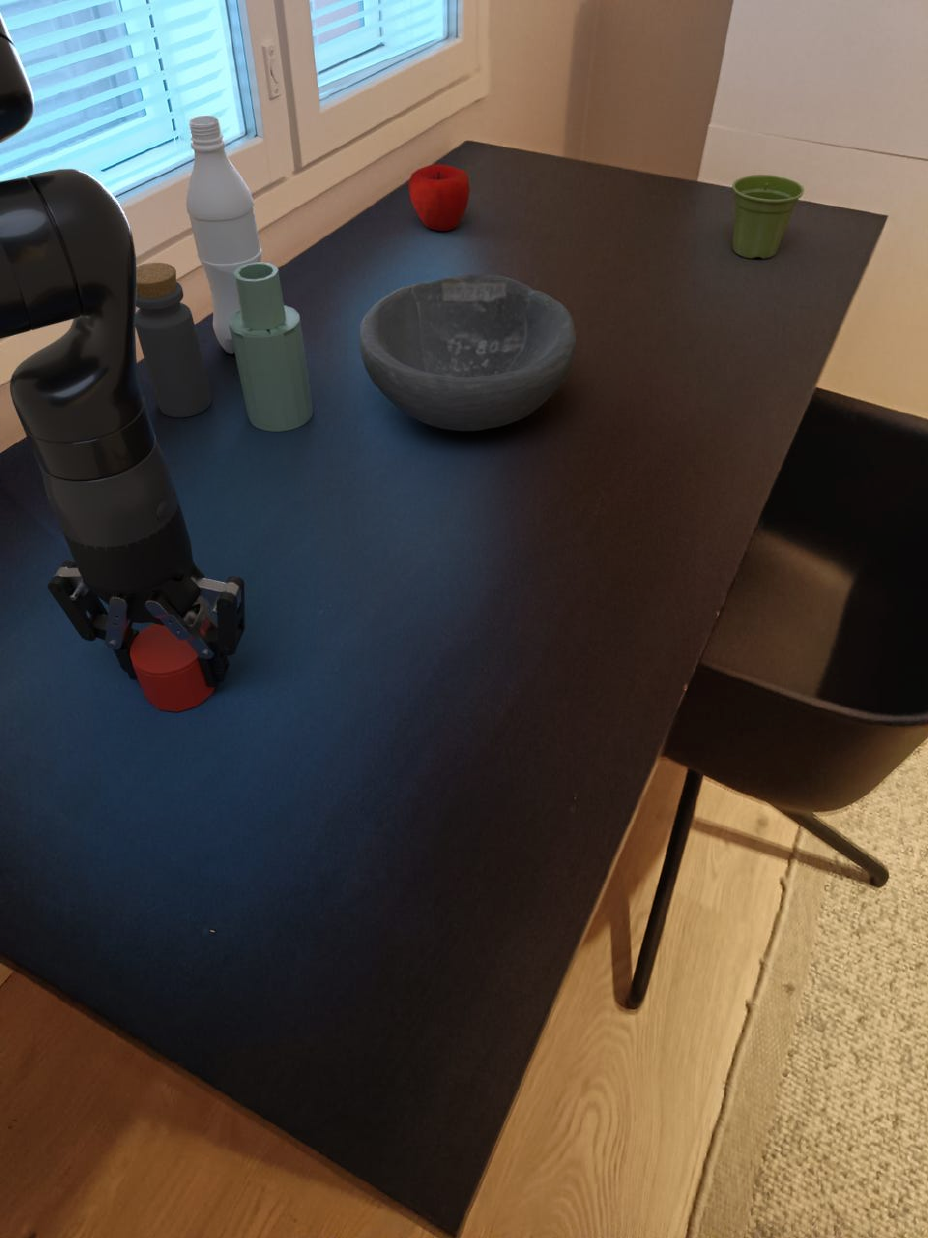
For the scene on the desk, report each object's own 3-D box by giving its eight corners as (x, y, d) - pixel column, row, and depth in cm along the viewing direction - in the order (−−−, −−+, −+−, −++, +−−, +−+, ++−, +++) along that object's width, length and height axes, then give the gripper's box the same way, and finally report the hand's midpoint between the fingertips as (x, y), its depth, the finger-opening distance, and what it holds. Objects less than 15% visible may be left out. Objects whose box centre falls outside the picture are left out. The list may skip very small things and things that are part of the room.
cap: (130, 688, 71) (114, 649, 67) (186, 646, 74) (173, 608, 70) (176, 722, 68) (161, 684, 65) (232, 678, 71) (220, 639, 68)
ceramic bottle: (235, 417, 98) (204, 274, 86) (281, 390, 102) (257, 249, 90) (280, 439, 95) (253, 294, 83) (326, 410, 99) (307, 268, 87)
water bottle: (207, 355, 107) (153, 127, 89) (236, 328, 112) (191, 106, 94) (261, 365, 105) (217, 134, 88) (288, 336, 110) (252, 112, 92)
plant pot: (706, 250, 127) (718, 186, 121) (745, 231, 131) (759, 168, 125) (762, 271, 122) (777, 205, 116) (801, 251, 126) (818, 187, 120)
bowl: (322, 403, 99) (310, 319, 92) (464, 332, 111) (464, 252, 103) (469, 492, 88) (469, 403, 81) (612, 403, 99) (623, 318, 92)
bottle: (186, 423, 97) (151, 290, 86) (147, 408, 99) (108, 276, 88) (223, 398, 100) (193, 267, 90) (185, 384, 103) (151, 254, 92)
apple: (406, 216, 136) (403, 161, 130) (463, 212, 137) (463, 157, 131) (415, 240, 130) (412, 184, 124) (474, 235, 131) (474, 179, 125)
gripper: (242, 479, 60) (280, 649, 72) (40, 463, 61) (111, 632, 74) (204, 552, 55) (252, 722, 67) (-15, 532, 56) (70, 702, 68)
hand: (178, 674), depth 70 cm, fingers closed on cap, 5 cm apart
